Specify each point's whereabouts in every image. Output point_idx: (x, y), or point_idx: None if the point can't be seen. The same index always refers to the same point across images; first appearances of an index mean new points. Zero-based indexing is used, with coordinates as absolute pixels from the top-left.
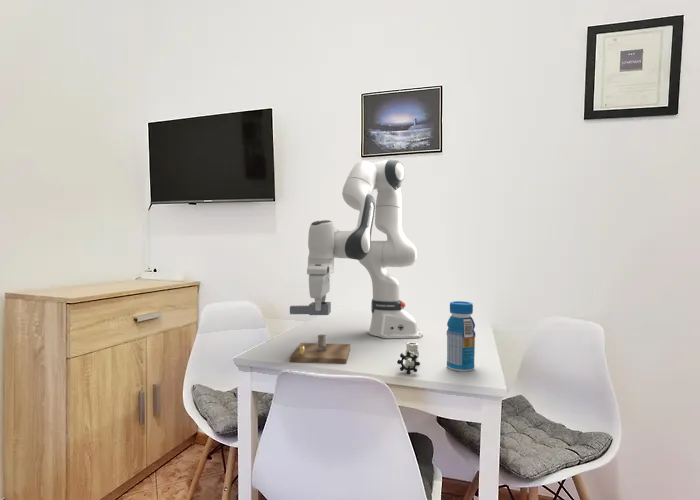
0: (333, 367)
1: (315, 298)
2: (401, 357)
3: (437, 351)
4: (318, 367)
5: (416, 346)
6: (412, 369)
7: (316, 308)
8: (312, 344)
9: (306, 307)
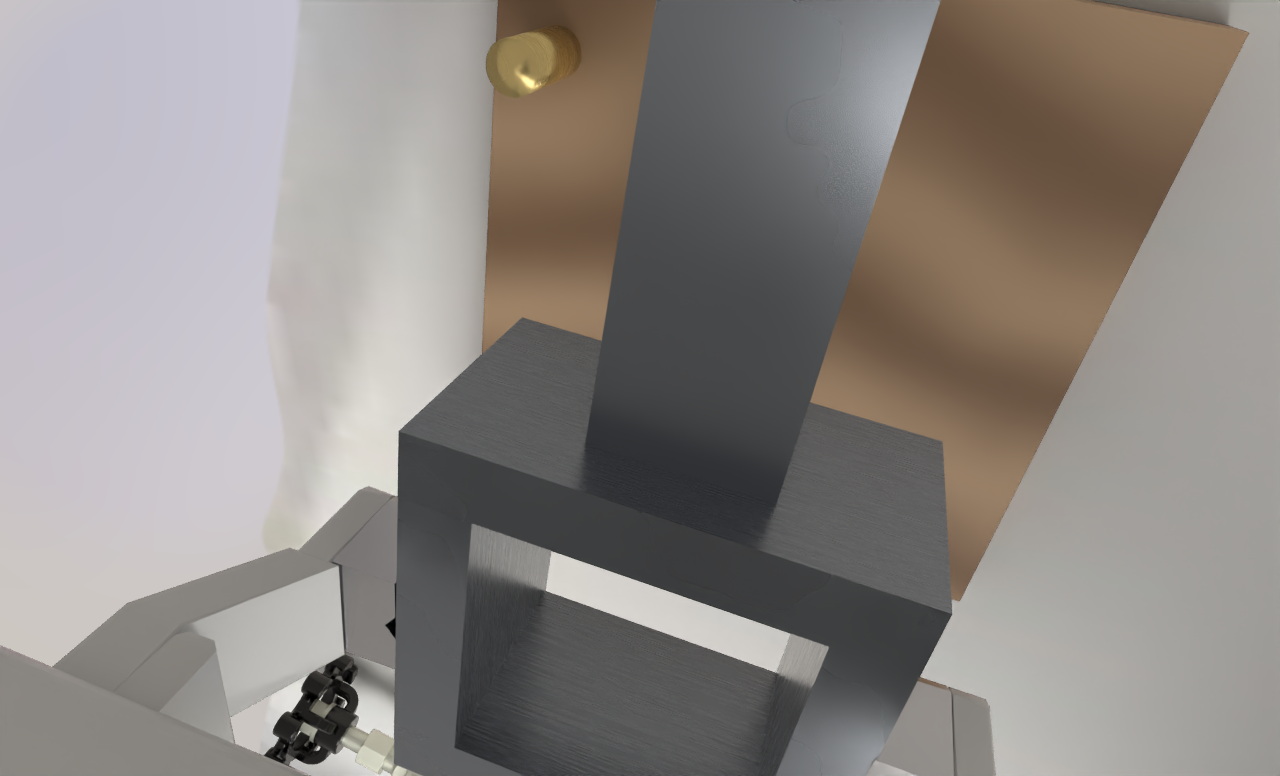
0: (399, 317)
1: (85, 662)
2: (286, 713)
3: None
4: (386, 200)
5: None
6: (324, 697)
7: (348, 520)
8: (1070, 208)
9: (610, 343)
